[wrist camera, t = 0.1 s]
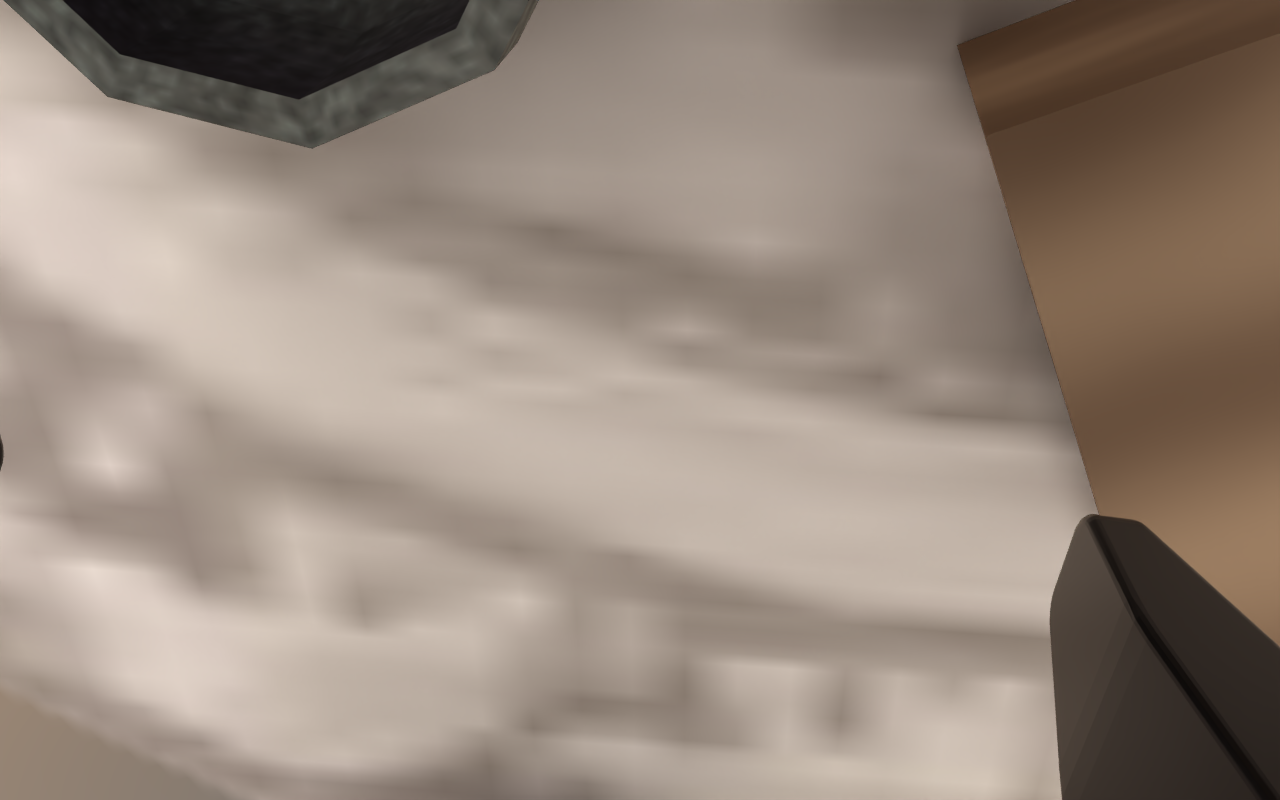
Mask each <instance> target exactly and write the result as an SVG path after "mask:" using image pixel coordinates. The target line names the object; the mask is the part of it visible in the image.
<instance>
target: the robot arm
mask: <svg viewBox="0 0 1280 800" xmlns="http://www.w3.org/2000/svg"><path fill="white" fill-rule="evenodd" d="M3 456H4V450H3V443H2V439H1V436H0V470H1V467H2V463H3ZM1050 635H1051V650H1052V666H1053V681H1054V696H1055V711H1056V726H1057V741H1058V757H1059V771H1060V782H1061V794H1062V800H1280V646H1279V645H1278V644H1277V643H1275V642H1274V641H1273V640H1272V639H1271V638H1270V637H1269V636H1268V635H1267V634H1265V633H1264V632H1263V631H1262V630H1261V629H1260V628H1259V627H1258V626H1257V625H1255V624H1254V623H1253V622H1252V621H1251V620H1250V619H1249V618H1248V617H1247V616H1245V615H1244V614H1243V613H1242V612H1241V611H1240V610H1239V609H1238V608H1237V607H1235V606H1234V605H1233V604H1232V603H1231V602H1230V601H1229V600H1228V599H1227V598H1226V597H1224V596H1223V595H1222V594H1221V593H1220V592H1219V591H1218V590H1217V589H1216V588H1214V587H1213V586H1212V585H1211V584H1210V583H1209V582H1208V581H1207V580H1206V579H1204V578H1203V577H1202V576H1201V575H1200V574H1199V573H1198V572H1197V571H1196V570H1194V569H1193V568H1192V567H1191V566H1190V565H1189V564H1188V563H1187V562H1186V561H1184V560H1183V559H1182V558H1181V557H1180V556H1179V555H1178V554H1177V553H1176V552H1175V551H1173V550H1172V549H1171V548H1170V547H1169V546H1168V545H1167V544H1166V543H1165V542H1163V541H1162V540H1161V539H1160V538H1159V537H1158V536H1157V535H1156V534H1155V533H1153V532H1152V531H1151V530H1150V529H1149V528H1148V527H1147V526H1145V525H1144V524H1143V523H1141V522H1139V521H1137V520H1133V519H1125V518H1118V517H1110V516H1102V515H1095V514H1090V515H1088V516H1086V517H1084V518H1082V519H1081V521H1080V522H1079V524H1078V525H1077V527H1076V529H1075V532H1074V534H1073V537H1072V540H1071V543H1070V546H1069V549H1068V552H1067V555H1066V557H1065V560H1064V563H1063V566H1062V569H1061V572H1060V575H1059V578H1058V580H1057V583H1056V586H1055V589H1054V592H1053V596H1052V601H1051V608H1050Z"/></svg>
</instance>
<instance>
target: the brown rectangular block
mask: <svg viewBox="0 0 1280 800" xmlns="http://www.w3.org/2000/svg"><path fill="white" fill-rule="evenodd" d="M957 47H958V50H959V53H960V56H961V60H962V63H963V66H964V70H965V73H966V76H967V80H968V83H969V86H970V89H971V93H972V96H973V99H974V103H975V106H976V109H977V113H978V116H979V119H980V122H981V126H982V129H983V132H984V136H985V139H986V142H987V146H988V149H989V152H990V156H991V159H992V162H993V165H994V169H995V172H996V175H997V179H998V182H999V185H1000V189H1001V192H1002V195H1003V198H1004V202H1005V205H1006V208H1007V212H1008V215H1009V218H1010V222H1011V225H1012V228H1013V231H1014V235H1015V238H1016V241H1017V245H1018V248H1019V251H1020V255H1021V258H1022V261H1023V265H1024V268H1025V271H1026V274H1027V278H1028V281H1029V284H1030V288H1031V291H1032V294H1033V298H1034V301H1035V304H1036V307H1037V311H1038V314H1039V317H1040V321H1041V324H1042V327H1043V331H1044V334H1045V337H1046V340H1047V344H1048V347H1049V350H1050V354H1051V357H1052V360H1053V364H1054V367H1055V370H1056V374H1057V377H1058V380H1059V383H1060V387H1061V390H1062V393H1063V397H1064V400H1065V403H1066V407H1067V410H1068V413H1069V416H1070V420H1071V423H1072V426H1073V430H1074V433H1075V436H1076V440H1077V443H1078V446H1079V450H1080V453H1081V456H1082V459H1083V463H1084V466H1085V469H1086V473H1087V476H1088V479H1089V483H1090V486H1091V489H1092V492H1093V496H1094V499H1095V502H1096V506H1097V509H1098V512H1099V515H1102V516H1110V517H1118V518H1125V519H1133V520H1137V521H1139V522H1141V523H1143V524H1144V525H1145V526H1147V527H1148V528H1149V529H1150V530H1151V531H1152V532H1153V533H1155V534H1156V535H1157V536H1158V537H1159V538H1160V539H1161V540H1162V541H1163V542H1165V543H1166V544H1167V545H1168V546H1169V547H1170V548H1171V549H1172V550H1173V551H1175V552H1176V553H1177V554H1178V555H1179V556H1180V557H1181V558H1182V559H1183V560H1184V561H1186V562H1187V563H1188V564H1189V565H1190V566H1191V567H1192V568H1193V569H1194V570H1196V571H1197V572H1198V573H1199V574H1200V575H1201V576H1202V577H1203V578H1204V579H1206V580H1207V581H1208V582H1209V583H1210V584H1211V585H1212V586H1213V587H1214V588H1216V589H1217V590H1218V591H1219V592H1220V593H1221V594H1222V595H1223V596H1224V597H1226V598H1227V599H1228V600H1229V601H1230V602H1231V603H1232V604H1233V605H1234V606H1235V607H1237V608H1238V609H1239V610H1240V611H1241V612H1242V613H1243V614H1244V615H1245V616H1247V617H1248V618H1249V619H1250V620H1251V621H1252V622H1253V623H1254V624H1255V625H1257V626H1258V627H1259V628H1260V629H1261V630H1262V631H1263V632H1264V633H1265V634H1267V635H1268V636H1269V637H1270V638H1271V639H1272V640H1273V641H1274V642H1275V643H1277V644H1278V645H1279V646H1280V0H1075V1H1072V2H1070V3H1067V4H1064V5H1062V6H1059V7H1057V8H1054V9H1051V10H1049V11H1046V12H1043V13H1041V14H1038V15H1035V16H1033V17H1030V18H1028V19H1025V20H1022V21H1020V22H1017V23H1014V24H1012V25H1009V26H1006V27H1004V28H1001V29H999V30H996V31H993V32H991V33H988V34H985V35H983V36H980V37H977V38H975V39H972V40H970V41H967V42H964V43H962V44H959V45H957Z"/></svg>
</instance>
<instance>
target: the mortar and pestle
mask: <svg viewBox="0 0 1280 800" xmlns="http://www.w3.org/2000/svg"><path fill="white" fill-rule="evenodd" d="M4 1H5V2H6V3H7V4H8V5H9V6H10V7H11V8H12V9H14V10H15V11H16V12H17V13H18V14H19V15H20V16H21V17H22V18H23V19H24V20H25V21H26V22H28V23H29V24H30V25H31V26H32V27H33V28H34V29H35V30H36V31H37V32H38V33H39V34H40V35H42V36H43V37H44V38H45V39H46V40H47V41H48V42H49V43H50V44H51V45H52V46H53V47H54V48H56V49H57V50H58V51H59V52H60V53H61V54H62V55H63V56H64V57H65V58H66V59H67V60H68V61H70V62H71V63H72V64H73V65H74V66H75V67H76V68H77V69H78V70H79V71H80V72H81V73H82V74H84V75H85V76H86V77H87V78H88V79H89V80H90V81H91V82H92V83H93V84H94V85H95V86H96V87H98V88H99V89H100V90H101V91H102V92H103V93H104V94H105V95H106V96H107V97H111V98H115V99H118V100H122V101H126V102H130V103H134V104H138V105H142V106H146V107H150V108H154V109H158V110H162V111H166V112H170V113H174V114H178V115H182V116H186V117H189V118H193V119H197V120H201V121H205V122H209V123H213V124H217V125H221V126H225V127H229V128H233V129H237V130H241V131H245V132H249V133H253V134H257V135H260V136H264V137H268V138H272V139H276V140H280V141H284V142H288V143H292V144H296V145H300V146H304V147H308V148H315V147H317V146H319V145H322V144H324V143H326V142H329V141H331V140H333V139H336V138H338V137H340V136H343V135H345V134H347V133H349V132H352V131H354V130H356V129H359V128H361V127H363V126H366V125H368V124H370V123H373V122H375V121H377V120H380V119H382V118H384V117H387V116H389V115H391V114H394V113H396V112H398V111H401V110H403V109H405V108H407V107H410V106H412V105H414V104H417V103H419V102H421V101H424V100H426V99H428V98H431V97H433V96H435V95H438V94H440V93H442V92H445V91H447V90H449V89H452V88H454V87H456V86H459V85H461V84H463V83H465V82H468V81H470V80H472V79H475V78H477V77H479V76H482V75H484V74H486V73H489V72H491V71H493V70H495V69H496V67H497V66H498V65H499V64H500V63H501V61H502V60H503V59H504V58H505V57H506V55H507V54H508V53H509V52H510V51H511V49H512V48H513V47H514V46H515V45H516V44H517V42H518V40H519V38H520V36H521V34H522V32H523V30H524V28H525V26H526V24H527V22H528V20H529V18H530V16H531V14H532V12H533V10H534V8H535V6H536V5H537V3H538V1H539V0H4Z"/></svg>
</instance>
